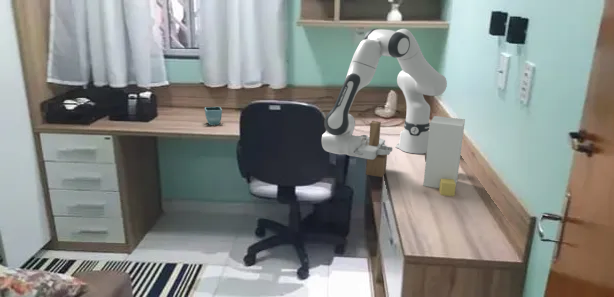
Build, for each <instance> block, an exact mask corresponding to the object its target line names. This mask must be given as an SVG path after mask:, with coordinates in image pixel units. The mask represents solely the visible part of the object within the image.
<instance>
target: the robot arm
mask: <svg viewBox="0 0 614 297" xmlns="http://www.w3.org/2000/svg"><path fill="white" fill-rule="evenodd" d="M382 56H383V57H392V58H396V59H397V62H398V64H399V66H400V69H401V70H400V71H399V73H398V74H397V78H396V83H397V86H398V87H399V89H400V91H402V94H403V96H404V99H405V103H406V104H405V105H406V116H405V120H404V123H403V125H404V127H403V129H402V131H400V134H399V142H398V143H397V144H395V148H396V149H399V150H401V151H402V152H406V153H408V154H409V153H411V154H416V155H417V154H422V155H423V154H426V152H427V147H428V137H429V128H430V117H431V116H430V114H431V106H430V104H429V103H428V102H427V101H426V99H425V97H424V96H430V97H432V96H433V97H435V96H437V97H439V96H442V95H443V94H444V92H445V91H446V89H447V87H448V81H447V78H446V77H445V75H443V74H441V73H440V72H439V71H437V70H436V69H435V68H434V67H433V66H432V65H431V64H430V63H429V62H428V61H427V60H426V58H425V56H424V54H423V52H422V50H421V47H420V45H419V43H418V40H416V38H415V36H414V35H413V33H412V32H411V31H410V30H409V29H406V28H401V29H398V30H397V29H396V30H392V29H383V28H382V29H381V28H372V29H371V28H370V29H369V30H367V32H366V33H365V34H364V37H363V39H362V40H361V41H360V42H359V44H358V46H357V47H356V50H355V51H354V53H353V55H352V59H351V61H350V64H349V67H348V70H347V74H346V77H345V79H344V82H343V84H342V87H341V88H340V92H339V94H338V96H337V98H336V101H335V103H334V105H333V107H332V109H331V110H329V112H328V113H327V114H326V115H325V118H324V121H323V123H324V128H325V132H324V133H323V134H321V139H320V140H321V141H320V142H321V147H322V149H323V150H324V151H325V152H328V153H332V154H336V155H347V156H350V157H357V158H361V159H365V160H367V159H370V160H373V159H375V158H376V157H377V155H387V156H389V155H391V152H393V147H392V146H388V145H386V140H385V139H383V138H379V145H378V146H373V145H370V146H369V137H370V136H368V135H367V134H362V135H355V134H354V130H355V128H356V119H355V118H354V116H353V115H352V114H351V113H350V109H351V107H352V106H353V105H352V104H353V102H354V100H355V97H356V95H357V94H358V92H359V91H361V89H363V88H365V87H366V86H368V85H369V84H371V81H372V80H373V78H374V76H375V73H376V71H377V68H378V65H379V62H380V58H381V57H382Z"/></svg>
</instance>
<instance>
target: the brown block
mask: <svg viewBox="0 0 614 297" xmlns="http://www.w3.org/2000/svg"><path fill="white" fill-rule="evenodd" d="M380 134H381V121H377V120H376V121H375V120H371V122H370V126H369V136H368V137H369V146H370V145H373V146H378V145H379V138H380V136H381V135H380ZM380 139H381V138H380ZM387 162H388V155H377V157H376V158H375V159H373V160H370V159H366V166H365V167H366V169H365V175H367V176H373V177H380V178H383V177H384V175H385V174H386V172H387Z"/></svg>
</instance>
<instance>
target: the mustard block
mask: <svg viewBox="0 0 614 297" xmlns="http://www.w3.org/2000/svg"><path fill="white" fill-rule="evenodd" d="M456 186H457V183H455V181H454V179H440V187H439V188H438V191H439V193H440V194H439V195H440V196H445V197H447V196H448V197H449V196H450V197H455V195H456Z"/></svg>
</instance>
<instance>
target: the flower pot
mask: <svg viewBox="0 0 614 297" xmlns="http://www.w3.org/2000/svg"><path fill="white" fill-rule="evenodd" d="M222 112H223V109H222V107H221V106H211V107H210V106H209V107H208V106H206V107H204V114H205V118H206V121H207V123H208V124H209V126H218V125H220V123H221V120H222V114H223V113H222Z"/></svg>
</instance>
